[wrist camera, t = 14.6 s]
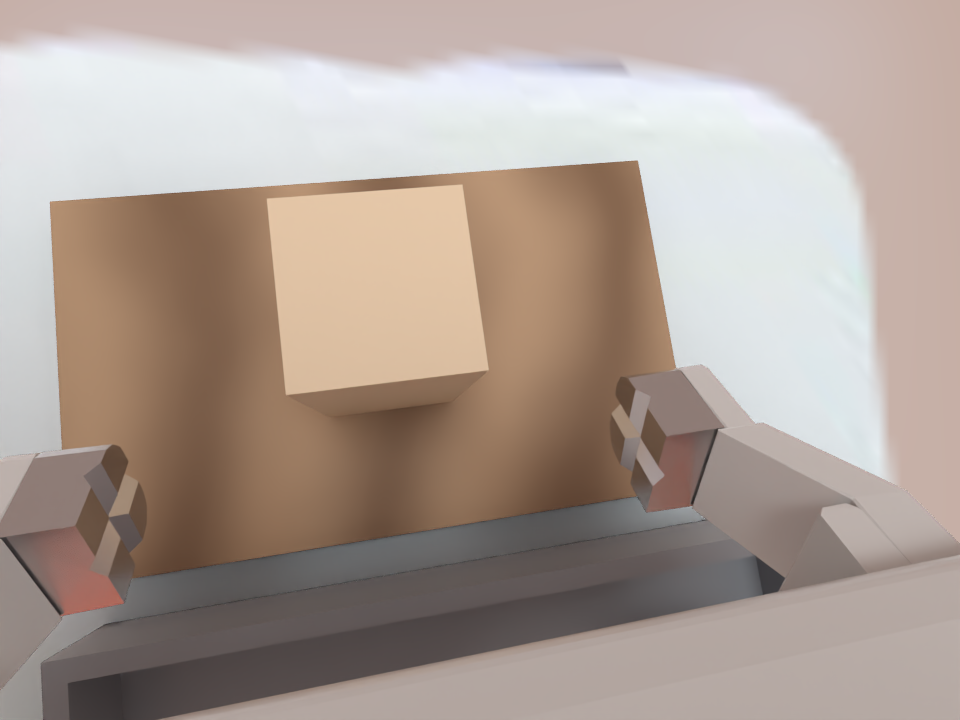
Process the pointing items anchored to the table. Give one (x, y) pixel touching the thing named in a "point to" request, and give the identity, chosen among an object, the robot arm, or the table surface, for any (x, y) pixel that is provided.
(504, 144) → the table surface
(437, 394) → the labelled box
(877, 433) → the table surface
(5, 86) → the table surface
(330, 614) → the bin
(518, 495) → the pad
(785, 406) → the table surface
